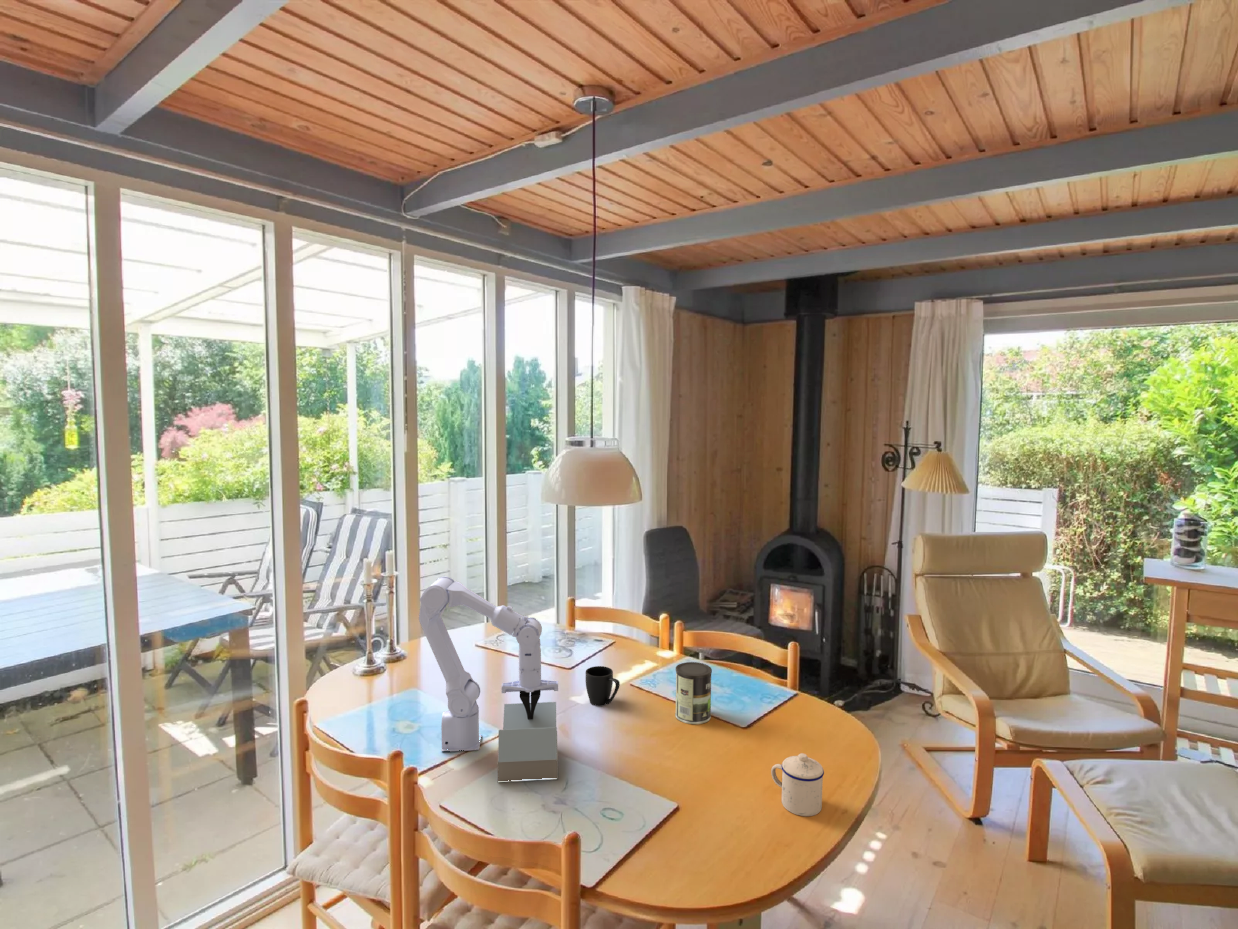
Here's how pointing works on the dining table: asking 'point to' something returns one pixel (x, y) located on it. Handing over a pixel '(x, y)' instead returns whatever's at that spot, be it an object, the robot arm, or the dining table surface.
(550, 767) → the carton
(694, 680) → the coffee can
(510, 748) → the near flap
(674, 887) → the dining table surface
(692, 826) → the dining table surface
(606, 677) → the mug
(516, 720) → the far flap
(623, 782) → the dining table surface
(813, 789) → the teacup with lid
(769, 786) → the dining table surface
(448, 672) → the robot arm
